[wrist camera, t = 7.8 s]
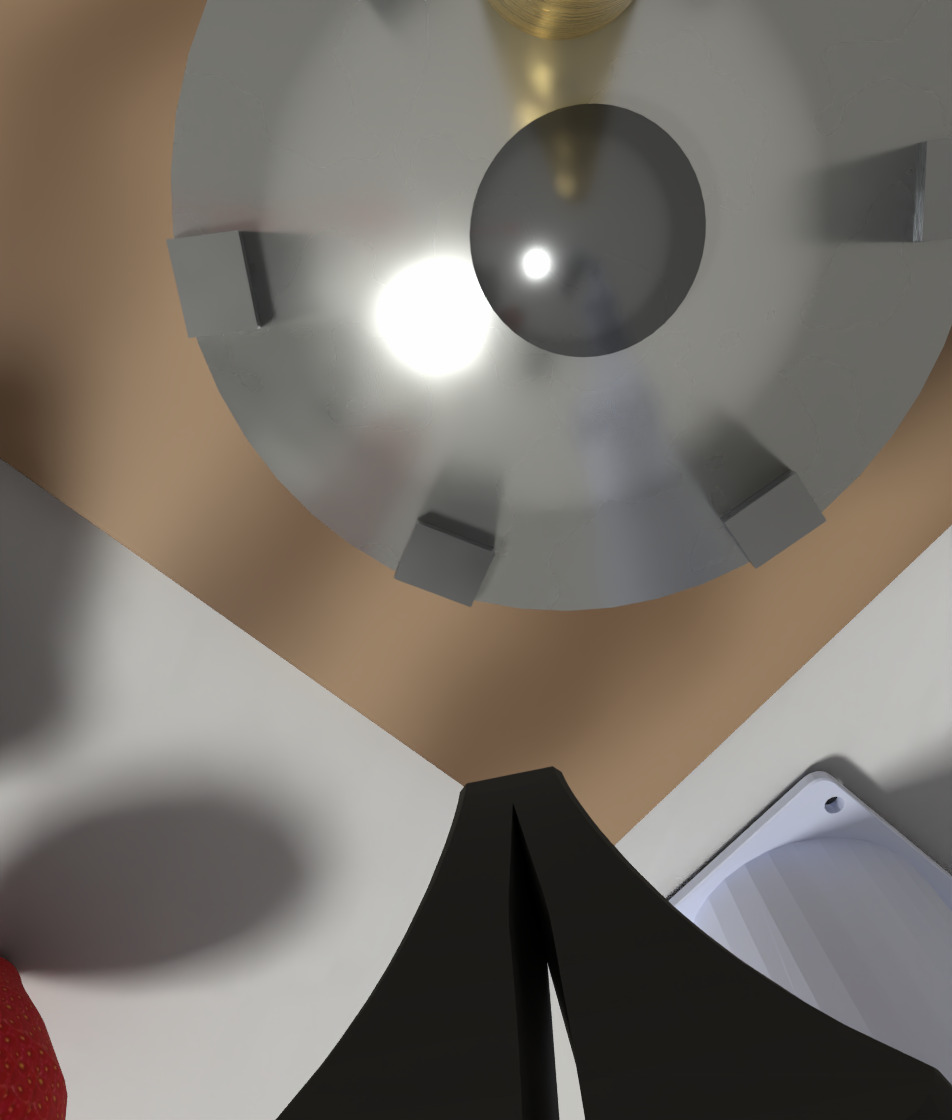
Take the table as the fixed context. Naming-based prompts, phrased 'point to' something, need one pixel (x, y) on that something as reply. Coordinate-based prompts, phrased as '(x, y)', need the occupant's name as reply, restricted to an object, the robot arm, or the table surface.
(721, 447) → the round metal turntable
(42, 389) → the base plate
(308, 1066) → the table surface
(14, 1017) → the strawberry
